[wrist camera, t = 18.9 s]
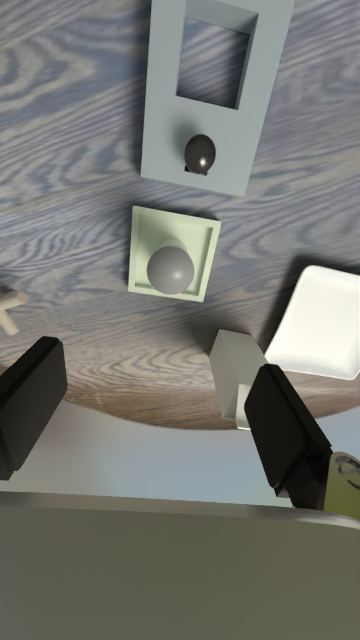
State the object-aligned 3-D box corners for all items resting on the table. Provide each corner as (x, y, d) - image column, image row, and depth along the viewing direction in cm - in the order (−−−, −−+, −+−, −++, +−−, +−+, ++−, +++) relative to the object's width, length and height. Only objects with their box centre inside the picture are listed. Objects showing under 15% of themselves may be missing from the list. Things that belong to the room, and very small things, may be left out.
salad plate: (296, 259, 36) (307, 264, 33) (405, 280, 38) (424, 286, 35) (254, 357, 46) (259, 368, 43) (342, 370, 48) (354, 381, 45)
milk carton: (239, 362, 46) (276, 451, 29) (208, 356, 45) (227, 444, 28) (252, 335, 43) (302, 417, 26) (219, 328, 42) (248, 408, 25)
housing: (309, -85, 20) (329, -129, 18) (238, 197, 31) (243, 196, 29) (165, -133, 19) (164, -188, 17) (143, 179, 30) (140, 176, 27)
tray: (219, 221, 33) (221, 221, 31) (201, 298, 39) (202, 302, 37) (134, 205, 32) (132, 205, 30) (130, 287, 38) (128, 291, 36)
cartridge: (191, 240, 33) (197, 250, 25) (186, 275, 36) (190, 296, 27) (155, 235, 33) (147, 244, 24) (152, 272, 36) (145, 292, 27)
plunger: (211, 149, 28) (219, 137, 24) (206, 181, 30) (211, 176, 25) (185, 144, 28) (187, 130, 23) (181, 176, 30) (182, 169, 25)
